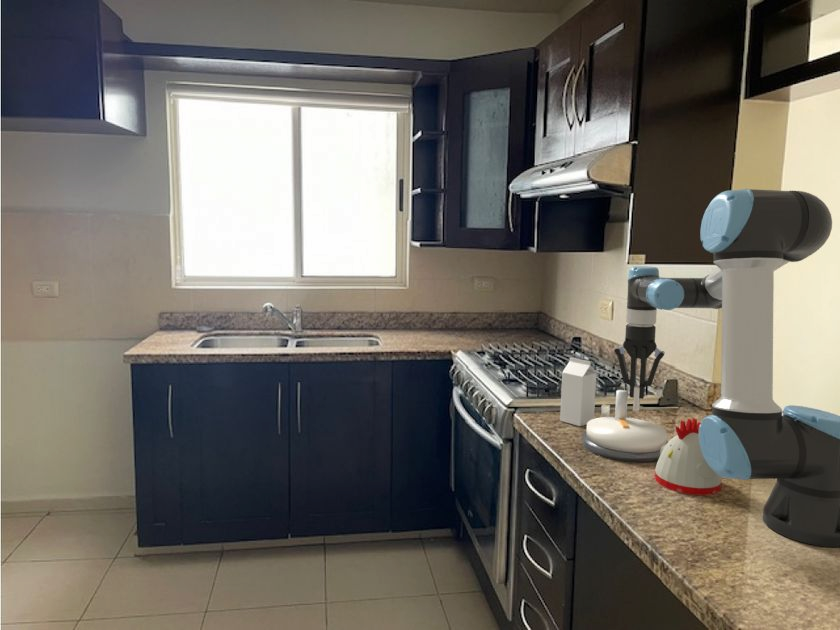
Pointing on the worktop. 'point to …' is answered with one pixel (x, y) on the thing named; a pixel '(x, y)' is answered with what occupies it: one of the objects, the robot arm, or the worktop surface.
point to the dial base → (614, 453)
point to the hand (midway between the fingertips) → (636, 409)
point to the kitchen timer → (686, 463)
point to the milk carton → (578, 392)
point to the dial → (625, 431)
